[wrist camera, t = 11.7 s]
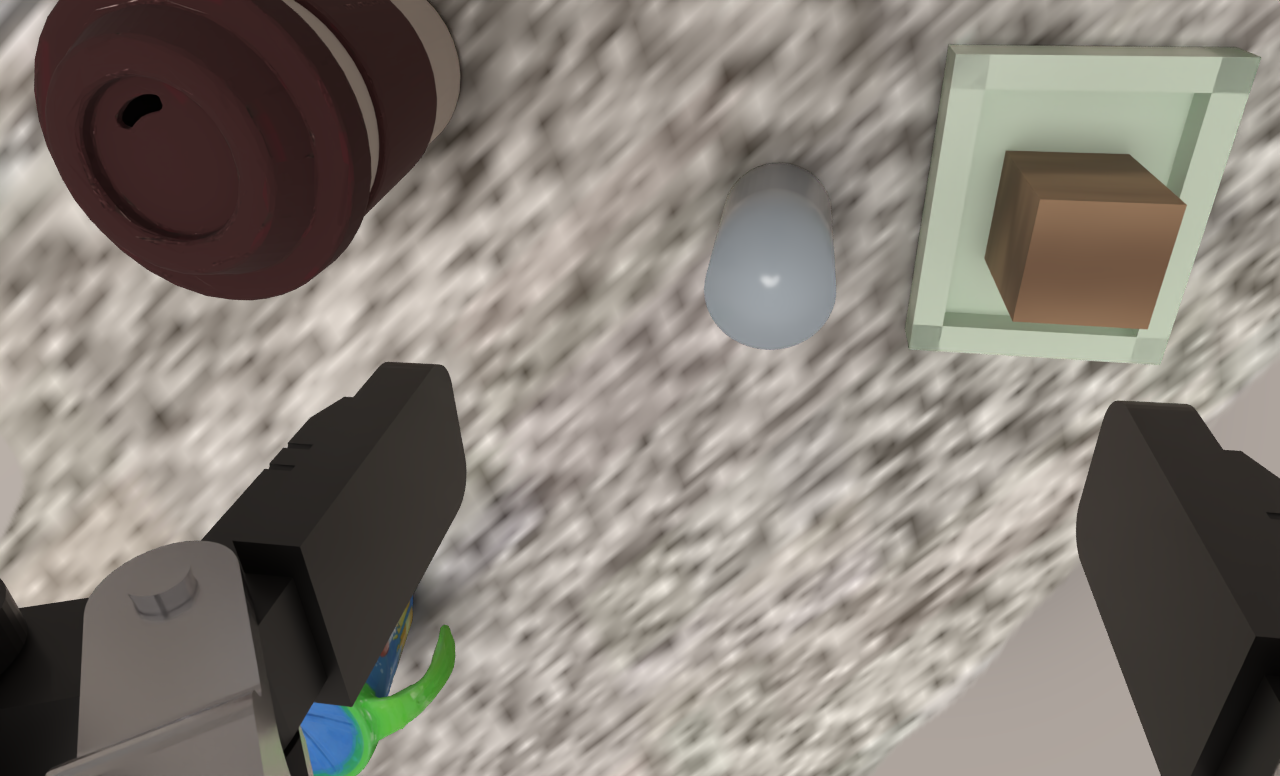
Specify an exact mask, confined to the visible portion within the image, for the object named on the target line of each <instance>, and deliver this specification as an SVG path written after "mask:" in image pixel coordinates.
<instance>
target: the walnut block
mask: <svg viewBox="0 0 1280 776" xmlns="http://www.w3.org/2000/svg"><path fill="white" fill-rule="evenodd" d="M1186 207H1187V204H1185V203H1184V202H1183V201H1182V200H1181V199H1180V198H1179V197H1178V196H1176V195H1175V194H1174V193H1173V192H1172V191H1171V190H1170V189H1168V188H1167V187H1166V186H1165V185H1164V184H1163V183H1162V182H1160V181H1159V180H1158V179H1157V178H1156V177H1155V176H1154V175H1153V174H1151V173H1150V172H1149V171H1148V170H1147V169H1146V168H1145V167H1143V166H1142V165H1141V164H1140V163H1139V162H1138V161H1137V160H1136V159H1134V158H1133V157H1132V156H1131V155H1130V154H1108V153H1074V152H1040V151H1006V152H1005V157H1004V162H1003V167H1002V172H1001V177H1000V182H999V187H998V192H997V197H996V202H995V207H994V212H993V217H992V222H991V227H990V232H989V237H988V242H987V247H986V252H985V257H984V259H985V261H986V264H987V266H988V268H989V270H990V273H991V275H992V277H993V279H994V281H995V284H996V286H997V288H998V290H999V293H1000V295H1001V297H1002V299H1003V302H1004V304H1005V306H1006V308H1007V310H1008V313H1009V315H1010V317H1011V319H1012V322H1027V323H1044V324H1062V325H1079V326H1096V327H1113V328H1130V329H1148V327H1149V324H1150V321H1151V318H1152V314H1153V311H1154V308H1155V305H1156V302H1157V299H1158V295H1159V292H1160V289H1161V286H1162V283H1163V280H1164V276H1165V273H1166V270H1167V267H1168V264H1169V261H1170V257H1171V254H1172V251H1173V248H1174V245H1175V242H1176V238H1177V235H1178V232H1179V229H1180V226H1181V223H1182V219H1183V216H1184V213H1185V210H1186Z"/></svg>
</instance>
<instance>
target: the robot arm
mask: <svg viewBox="0 0 1280 776" xmlns="http://www.w3.org/2000/svg"><path fill="white" fill-rule="evenodd" d="M465 486H466V460H465V454H464V449H463V443H462V438H461V432H460V427H459V421H458V416H457V410H456V405H455V399H454V394H453V388H452V383H451V379H450V376H449V373H448V371H447V369H446V368H445V367H444V366H443V365H439V364H420V363H400V362H385V363H383V364H382V365H380V366H379V367H378V369H377V370H376V371H375V372H374V373H373V375H372V376H371V377H370V378H369V379H368V380H367V382H366V383H365V384H364V385H363V386H362V388H361V389H360V390H359V391H358V392H357V393H356V395H355V396H354V397H343V398H342V399H340V400H338V401H337V402H335V403H334V404H332V405H330V406H329V407H327V408H325V409H324V410H322V411H320V412H319V413H317V414H316V415H314V416H312V417H311V418H310V419H309V420H308V421H307V422H306V423H305V424H304V425H303V426H302V428H301V429H300V430H299V431H298V432H297V433H296V434H295V435H294V437H293V438H292V439H291V440H290V441H289V442H288V448H283V449H282V450H281V451H280V452H279V453H278V455H277V456H276V457H275V458H274V459H273V460H272V461H271V462H270V467H269V469H264V470H263V471H262V472H261V474H260V475H259V476H258V477H257V478H256V479H255V480H254V481H253V483H252V484H251V485H250V486H249V487H248V488H247V489H246V490H245V492H244V493H243V494H242V495H241V496H240V497H239V498H238V499H237V501H236V502H235V503H234V504H233V505H232V506H231V507H230V508H229V510H228V511H227V512H226V513H225V514H224V515H223V516H222V517H221V519H220V520H219V521H218V522H217V523H216V524H215V525H214V526H213V527H212V529H211V530H210V531H209V532H208V533H207V534H206V535H205V536H204V538H203V539H202V540H201V541H184V542H178V543H173V544H169V545H165V546H162V547H159V548H156V549H153V550H150V551H148V552H146V553H143V554H141V555H139V556H137V557H135V558H133V559H131V560H130V561H128V562H126V563H124V564H123V565H121V566H120V567H119V568H117V569H116V570H114V571H113V572H112V573H111V574H109V575H108V576H107V577H106V578H105V579H104V580H103V581H102V582H101V583H100V584H99V585H98V586H97V587H96V588H95V590H94V591H93V593H92V594H91V596H90V597H89V598H84V599H77V600H71V601H64V602H57V603H51V604H44V605H37V606H31V607H24V608H18V606H17V605H16V603H15V601H14V599H13V598H12V596H11V594H10V593H9V591H8V589H7V587H6V586H5V584H4V583H3V581H2V580H1V579H0V776H314V775H313V771H312V766H311V762H310V757H309V752H308V748H307V743H306V739H305V737H304V734H303V731H302V728H301V726H300V725H301V723H302V721H303V720H304V718H305V716H306V715H307V713H308V711H309V709H310V708H311V706H312V704H313V703H322V704H330V705H338V706H347V707H353V705H354V703H355V701H356V699H357V697H358V695H359V694H360V692H361V690H362V688H363V686H364V684H365V683H366V681H367V679H368V677H369V675H370V673H371V671H372V670H373V668H374V666H375V664H376V662H377V660H378V658H379V657H380V655H381V653H382V651H383V649H384V647H385V645H386V644H387V642H388V640H389V638H390V636H391V634H392V633H393V631H394V629H395V627H396V625H397V623H398V621H399V620H400V618H401V616H402V614H403V612H404V610H405V608H406V607H407V605H408V603H409V601H410V599H411V597H412V596H413V594H414V592H415V590H416V588H417V586H418V584H419V583H420V581H421V579H422V577H423V575H424V573H425V571H426V570H427V568H428V566H429V564H430V562H431V560H432V558H433V557H434V555H435V553H436V551H437V549H438V547H439V546H440V544H441V542H442V540H443V538H444V536H445V534H446V533H447V531H448V529H449V527H450V525H451V523H452V521H453V520H454V518H455V516H456V514H457V512H458V510H459V508H460V506H461V503H462V500H463V496H464V492H465ZM1076 540H1077V549H1078V554H1079V558H1080V561H1081V564H1082V567H1083V569H1084V572H1085V575H1086V577H1087V580H1088V582H1089V585H1090V588H1091V591H1092V593H1093V596H1094V599H1095V601H1096V604H1097V607H1098V609H1099V612H1100V615H1101V617H1102V620H1103V622H1104V625H1105V628H1106V631H1107V633H1108V636H1109V638H1110V641H1111V644H1112V646H1113V649H1114V652H1115V654H1116V657H1117V659H1118V662H1119V665H1120V668H1121V670H1122V673H1123V676H1124V678H1125V681H1126V684H1127V686H1128V689H1129V692H1130V694H1131V697H1132V700H1133V702H1134V705H1135V708H1136V710H1137V713H1138V716H1139V718H1140V721H1141V724H1142V726H1143V729H1144V732H1145V734H1146V737H1147V739H1148V742H1149V745H1150V747H1151V750H1152V753H1153V755H1154V758H1155V761H1156V763H1157V766H1158V769H1159V771H1160V774H1161V776H1280V478H1278V477H1277V476H1275V475H1274V474H1272V473H1271V472H1270V471H1268V470H1267V469H1266V468H1264V467H1263V466H1261V465H1260V464H1259V463H1257V462H1256V461H1254V460H1253V459H1252V458H1250V457H1249V456H1247V455H1246V454H1244V453H1243V452H1242V451H1231V450H1223V449H1222V447H1221V446H1220V444H1219V443H1218V442H1217V440H1216V439H1215V437H1214V436H1213V434H1212V433H1211V431H1210V430H1209V428H1208V427H1207V425H1206V424H1205V423H1204V421H1203V420H1202V418H1201V417H1200V415H1199V414H1198V412H1197V411H1196V410H1195V409H1194V407H1192V406H1191V405H1188V404H1176V403H1156V402H1136V401H1115V402H1113V403H1112V404H1111V405H1110V406H1109V408H1108V409H1107V411H1106V413H1105V416H1104V419H1103V422H1102V426H1101V429H1100V433H1099V436H1098V440H1097V443H1096V447H1095V450H1094V454H1093V457H1092V461H1091V465H1090V468H1089V472H1088V475H1087V479H1086V482H1085V486H1084V489H1083V493H1082V496H1081V500H1080V503H1079V508H1078V513H1077V521H1076Z"/></svg>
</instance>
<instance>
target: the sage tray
mask: <svg viewBox="0 0 1280 776" xmlns="http://www.w3.org/2000/svg"><path fill="white" fill-rule="evenodd" d="M1260 60H1261V57H1259V56H1256V55H1254V54H1252V53H1249V52H1247V51H1244V50H1242V49H1239V48H1234V47H1130V46H1026V45H949V46H948V52H947V59H946V65H945V72H944V78H943V85H942V91H941V97H940V104H939V110H938V117H937V123H936V130H935V136H934V143H933V149H932V156H931V162H930V169H929V175H928V182H927V188H926V195H925V201H924V208H923V214H922V221H921V227H920V234H919V240H918V247H917V253H916V260H915V266H914V273H913V279H912V286H911V292H910V299H909V305H908V312H907V318H906V325H905V332H906V337H907V342H908V347H909V349H910V350H926V351H942V352H958V353H974V354H990V355H1006V356H1023V357H1039V358H1055V359H1071V360H1087V361H1103V362H1119V363H1135V364H1152V365H1160V364H1161V361H1162V358H1163V355H1164V352H1165V349H1166V346H1167V342H1168V339H1169V336H1170V333H1171V330H1172V327H1173V324H1174V321H1175V318H1176V315H1177V312H1178V309H1179V306H1180V303H1181V300H1182V297H1183V294H1184V291H1185V288H1186V285H1187V282H1188V279H1189V276H1190V273H1191V270H1192V266H1193V263H1194V260H1195V257H1196V254H1197V251H1198V248H1199V245H1200V242H1201V239H1202V236H1203V233H1204V230H1205V227H1206V224H1207V221H1208V218H1209V215H1210V212H1211V209H1212V206H1213V203H1214V200H1215V197H1216V193H1217V190H1218V187H1219V184H1220V181H1221V178H1222V175H1223V172H1224V169H1225V166H1226V163H1227V160H1228V157H1229V154H1230V151H1231V148H1232V145H1233V142H1234V139H1235V136H1236V133H1237V130H1238V127H1239V124H1240V121H1241V117H1242V114H1243V111H1244V108H1245V105H1246V102H1247V99H1248V96H1249V93H1250V90H1251V87H1252V84H1253V81H1254V78H1255V75H1256V72H1257V69H1258V66H1259V63H1260ZM1006 151H1040V152H1074V153H1108V154H1130V155H1131V156H1132V157H1133V158H1134V159H1136V160H1137V161H1138V162H1139V163H1140V164H1141V165H1142V166H1143V167H1145V168H1146V169H1147V170H1148V171H1149V172H1150V173H1151V174H1153V175H1154V176H1155V177H1156V178H1157V179H1158V180H1159V181H1160V182H1162V183H1163V184H1164V185H1165V186H1166V187H1167V188H1168V189H1170V190H1171V191H1172V192H1173V193H1174V194H1175V195H1176V196H1178V197H1179V198H1180V199H1181V200H1182V201H1183V202H1184V203H1185V204H1187V207H1186V210H1185V213H1184V216H1183V219H1182V223H1181V226H1180V229H1179V232H1178V235H1177V238H1176V242H1175V245H1174V248H1173V251H1172V254H1171V257H1170V261H1169V264H1168V267H1167V270H1166V273H1165V276H1164V280H1163V283H1162V286H1161V289H1160V292H1159V295H1158V299H1157V302H1156V305H1155V308H1154V311H1153V314H1152V318H1151V321H1150V324H1149V327H1148V329H1130V328H1113V327H1096V326H1079V325H1062V324H1044V323H1027V322H1012V319H1011V317H1010V315H1009V313H1008V310H1007V308H1006V306H1005V304H1004V302H1003V299H1002V297H1001V295H1000V293H999V290H998V288H997V286H996V284H995V281H994V279H993V277H992V275H991V273H990V270H989V268H988V266H987V264H986V261H985V259H984V257H985V252H986V247H987V242H988V237H989V232H990V227H991V222H992V217H993V212H994V207H995V202H996V197H997V192H998V187H999V182H1000V177H1001V172H1002V167H1003V162H1004V157H1005V152H1006Z"/></svg>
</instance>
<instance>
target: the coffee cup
mask: <svg viewBox="0 0 1280 776" xmlns="http://www.w3.org/2000/svg"><path fill="white" fill-rule="evenodd" d="M34 92H35V98H36V104H37V111H38V117H39V122H40V125H41V128H42V132H43V135H44V138H45V141H46V144H47V147H48V150H49V152H50V154H51V156H52V158H53V160H54V162H55V164H56V167H57V169H58V171H59V173H60V175H61V177H62V179H63V181H64V182H65V184H66V186H67V188H68V190H69V191H70V193H71V194H72V196H73V198H74V199H75V201H76V202H77V203H78V205H79V206H80V207H81V209H82V210H83V211H84V212H85V214H86V215H87V216H88V217H89V219H90V220H91V221H92V222H93V223H94V224H95V225H96V226H97V227H98V228H99V229H100V231H102V232H103V233H104V234H105V235H106V236H107V237H108V238H109V239H110V240H111V241H112V242H113V243H114V244H115V245H116V246H117V247H118V248H119V249H120V250H122V251H123V252H124V253H126V254H127V255H128V256H130V257H131V258H132V259H134V260H135V261H136V262H138V263H139V264H140V265H142V266H143V267H144V268H146V269H147V270H149V271H151V272H153V273H154V274H156V275H158V276H160V277H162V278H164V279H166V280H167V281H169V282H171V283H173V284H175V285H177V286H180V287H183V288H186V289H188V290H191V291H194V292H197V293H200V294H203V295H206V296H211V297H218V298H224V299H232V300H258V299H266V298H270V297H275V296H279V295H283V294H285V293H288V292H290V291H293V290H295V289H297V288H299V287H301V286H302V285H304V284H306V283H307V282H309V281H310V280H311V279H313V278H314V277H315V276H316V275H318V274H319V273H320V272H321V271H323V270H324V269H325V268H326V267H328V266H329V265H330V264H331V263H333V262H334V261H335V260H336V259H337V258H338V257H339V256H340V255H341V254H342V253H343V252H344V250H345V249H346V248H347V247H348V246H349V244H350V243H351V241H352V240H353V238H354V236H355V234H356V233H357V231H358V229H359V227H360V225H361V222H362V220H363V217H364V216H365V215H366V214H367V213H368V212H369V211H370V210H371V209H372V208H373V207H374V206H375V205H376V204H377V203H378V202H379V201H380V200H381V199H382V198H383V197H384V196H385V195H386V194H387V193H388V192H389V191H390V190H391V189H392V188H393V187H394V186H395V185H396V184H397V183H398V182H399V181H400V180H401V179H402V178H403V177H404V176H405V175H406V174H407V173H408V172H409V171H410V170H411V169H412V168H413V167H414V166H415V164H416V163H417V162H418V161H419V159H420V158H421V157H422V155H423V154H424V152H425V150H426V148H427V146H428V145H429V144H430V143H431V142H432V141H433V140H434V139H435V138H436V137H437V136H438V135H439V134H440V133H441V132H442V131H443V130H444V128H445V127H446V126H447V124H448V122H449V121H450V119H451V117H452V115H453V113H454V110H455V108H456V104H457V100H458V96H459V92H460V67H459V59H458V56H457V52H456V48H455V44H454V42H453V39H452V37H451V35H450V33H449V31H448V28H447V26H446V25H445V23H444V22H443V20H442V19H441V17H440V16H439V14H438V13H437V11H436V10H435V9H434V8H433V7H432V6H431V5H430V3H429V2H428V1H427V0H59V1H58V2H57V4H56V5H55V7H54V8H53V10H52V11H51V13H50V14H49V16H48V17H47V20H46V22H45V25H44V28H43V30H42V33H41V35H40V38H39V42H38V47H37V52H36V56H35V79H34Z"/></svg>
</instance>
